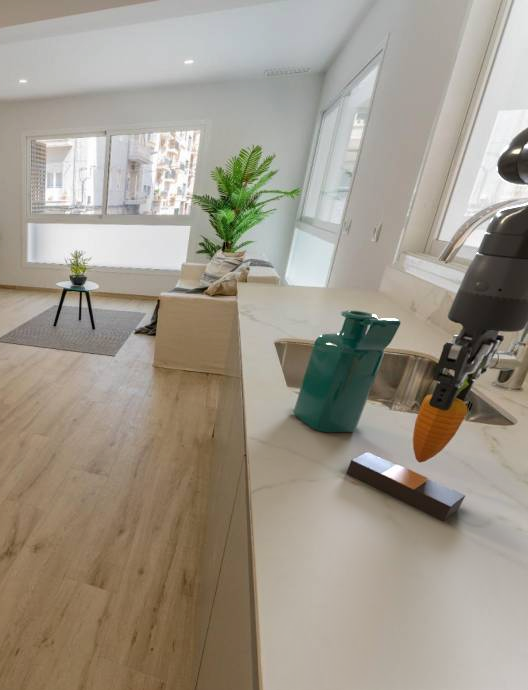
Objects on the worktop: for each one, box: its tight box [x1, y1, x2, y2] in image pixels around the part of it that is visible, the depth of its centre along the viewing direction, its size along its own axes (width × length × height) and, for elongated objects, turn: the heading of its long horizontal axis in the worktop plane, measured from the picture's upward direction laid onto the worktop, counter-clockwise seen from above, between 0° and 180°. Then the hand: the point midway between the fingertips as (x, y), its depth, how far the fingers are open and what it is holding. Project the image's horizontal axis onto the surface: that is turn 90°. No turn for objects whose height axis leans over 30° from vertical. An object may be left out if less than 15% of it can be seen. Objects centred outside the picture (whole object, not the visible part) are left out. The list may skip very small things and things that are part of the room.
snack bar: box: [346, 451, 466, 522], centre depth 63 cm, size 5×12×3 cm, turn 29°
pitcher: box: [293, 309, 401, 433], centre depth 77 cm, size 10×8×22 cm
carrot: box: [412, 376, 469, 463], centre depth 64 cm, size 5×5×15 cm
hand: (446, 403), depth 63 cm, fingers closed on carrot, 5 cm apart
